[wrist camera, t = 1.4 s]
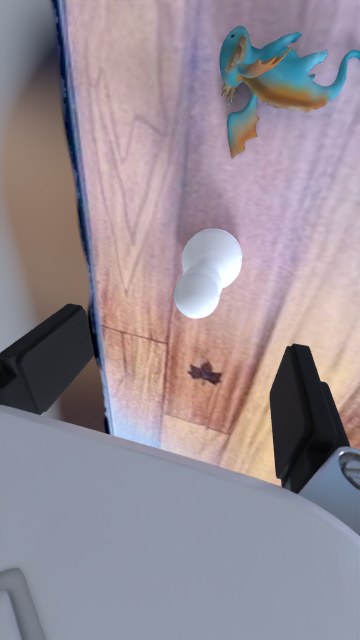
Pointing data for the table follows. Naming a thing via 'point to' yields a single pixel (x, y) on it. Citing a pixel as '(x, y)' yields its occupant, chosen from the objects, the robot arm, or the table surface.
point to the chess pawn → (206, 271)
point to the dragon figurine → (271, 80)
